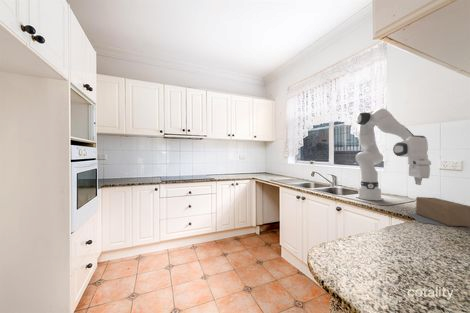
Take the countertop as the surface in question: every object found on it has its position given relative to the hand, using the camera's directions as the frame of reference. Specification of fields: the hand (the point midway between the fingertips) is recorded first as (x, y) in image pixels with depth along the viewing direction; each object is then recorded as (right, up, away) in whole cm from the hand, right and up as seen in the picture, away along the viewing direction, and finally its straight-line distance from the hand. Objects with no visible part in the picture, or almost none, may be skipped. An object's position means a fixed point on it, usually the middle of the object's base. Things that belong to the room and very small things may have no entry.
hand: (418, 184), depth 118 cm
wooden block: (+1, -12, -3) cm, 12 cm away
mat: (-6, -17, -12) cm, 22 cm away
